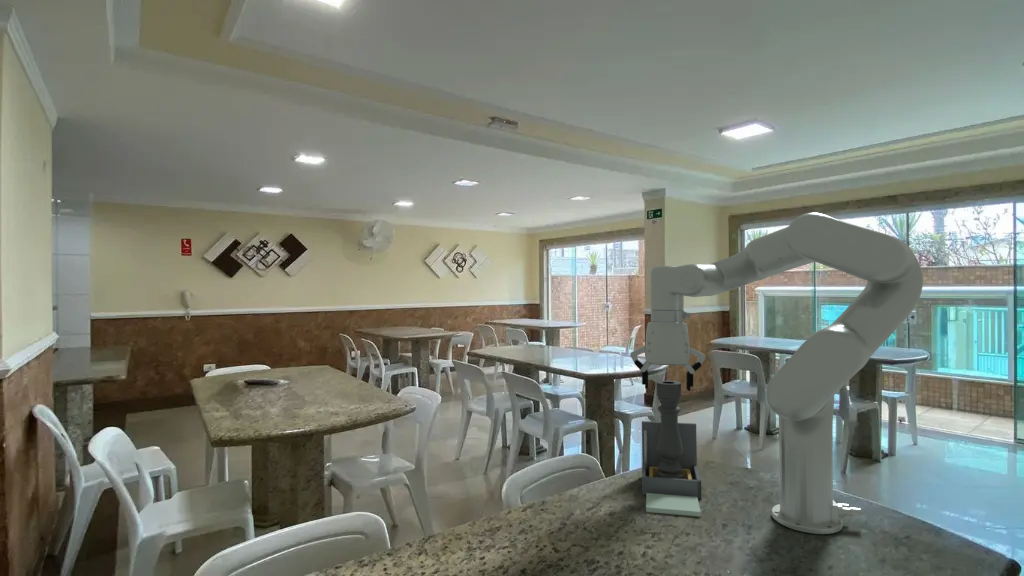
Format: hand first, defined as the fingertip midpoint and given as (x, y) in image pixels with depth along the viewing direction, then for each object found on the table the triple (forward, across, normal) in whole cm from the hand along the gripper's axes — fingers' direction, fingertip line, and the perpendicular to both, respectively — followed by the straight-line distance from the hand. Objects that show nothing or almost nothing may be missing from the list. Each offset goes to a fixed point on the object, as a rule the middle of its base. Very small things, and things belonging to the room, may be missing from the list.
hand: (667, 388), depth 127 cm
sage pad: (+23, -1, +12) cm, 26 cm away
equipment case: (+24, -1, 0) cm, 24 cm away
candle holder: (+24, -1, 0) cm, 24 cm away
